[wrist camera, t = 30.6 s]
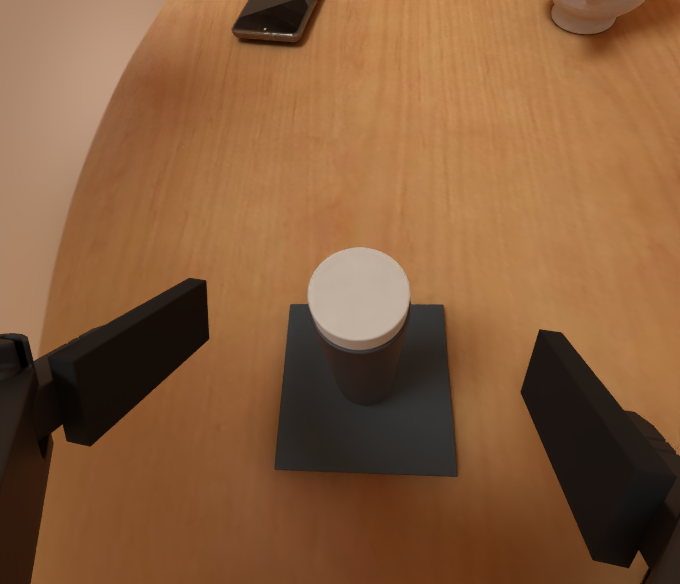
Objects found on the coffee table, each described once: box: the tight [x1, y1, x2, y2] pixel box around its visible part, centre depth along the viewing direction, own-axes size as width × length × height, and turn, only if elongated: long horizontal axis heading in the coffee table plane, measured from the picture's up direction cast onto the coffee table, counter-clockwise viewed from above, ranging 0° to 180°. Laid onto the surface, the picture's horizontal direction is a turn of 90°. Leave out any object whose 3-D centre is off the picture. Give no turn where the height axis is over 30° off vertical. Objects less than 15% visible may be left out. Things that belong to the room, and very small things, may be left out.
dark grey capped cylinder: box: [308, 247, 411, 406], centre depth 17 cm, size 3×3×13 cm
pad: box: [275, 304, 458, 477], centre depth 23 cm, size 10×10×1 cm
